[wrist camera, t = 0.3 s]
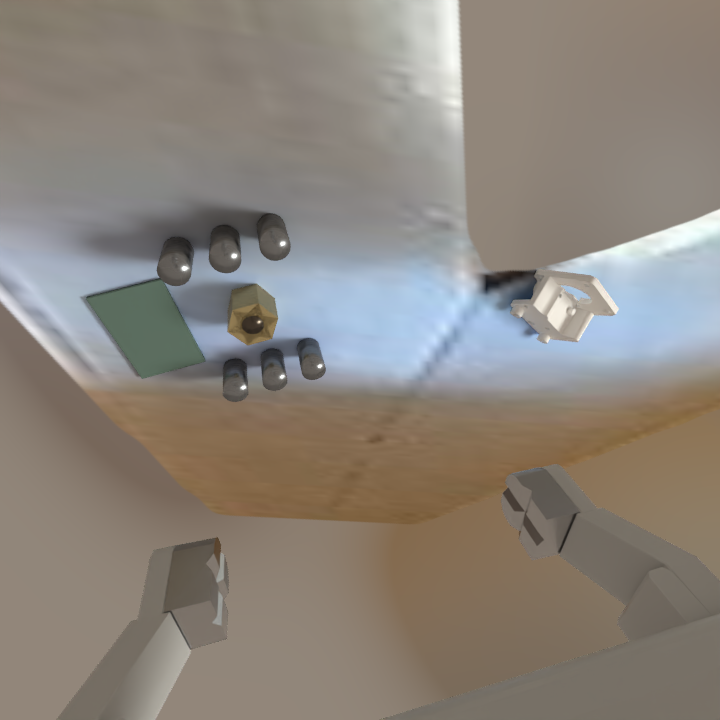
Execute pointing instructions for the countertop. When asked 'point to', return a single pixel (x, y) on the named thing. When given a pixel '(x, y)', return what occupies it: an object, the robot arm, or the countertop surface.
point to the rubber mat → (147, 327)
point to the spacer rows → (228, 259)
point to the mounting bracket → (563, 305)
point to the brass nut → (252, 314)
